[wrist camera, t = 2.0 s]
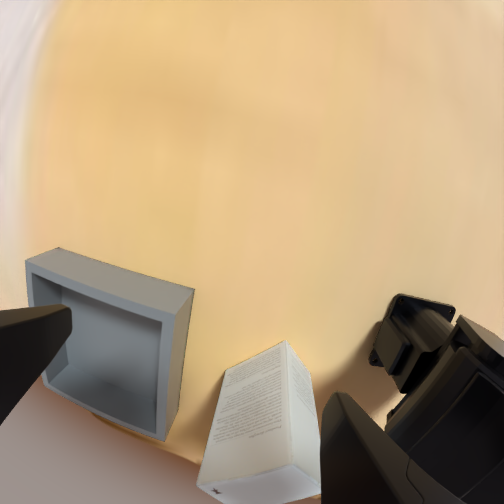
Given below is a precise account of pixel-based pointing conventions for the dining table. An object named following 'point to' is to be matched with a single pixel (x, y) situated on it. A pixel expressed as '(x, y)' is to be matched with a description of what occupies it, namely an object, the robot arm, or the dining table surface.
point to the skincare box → (264, 433)
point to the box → (115, 339)
